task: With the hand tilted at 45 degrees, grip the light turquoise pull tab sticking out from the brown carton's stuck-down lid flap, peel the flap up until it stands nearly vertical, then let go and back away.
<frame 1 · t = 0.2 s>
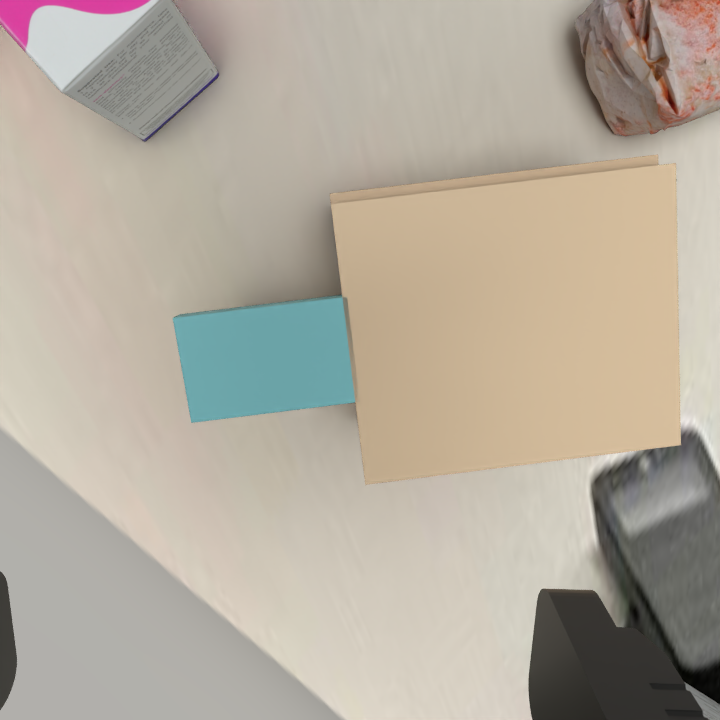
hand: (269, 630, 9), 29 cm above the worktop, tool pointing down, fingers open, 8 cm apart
carton: (461, 302, 38), on the worktop
food item: (685, 43, 36), on the worktop
flap: (429, 338, 27), point 11 cm above the worktop, hinge at 0.0°
supplement box: (149, 66, 35), on the worktop
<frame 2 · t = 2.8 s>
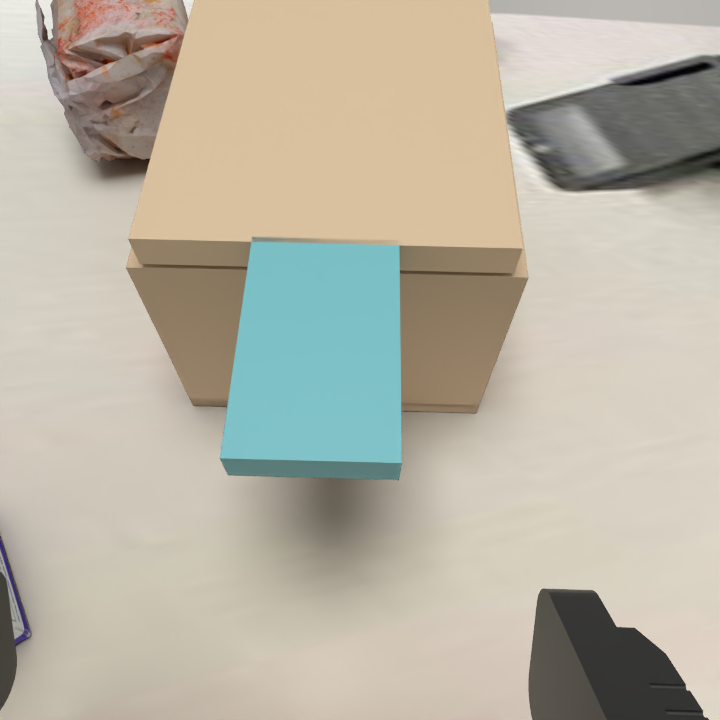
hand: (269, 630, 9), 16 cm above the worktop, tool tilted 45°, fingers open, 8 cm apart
carton: (340, 287, 33), on the worktop
food item: (146, 106, 40), on the worktop
flap: (331, 176, 21), point 11 cm above the worktop, hinge at 0.0°
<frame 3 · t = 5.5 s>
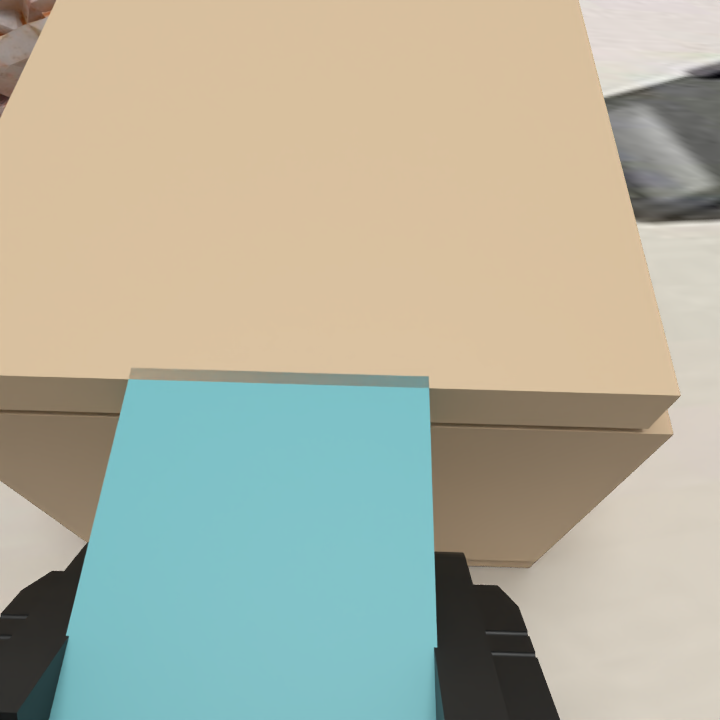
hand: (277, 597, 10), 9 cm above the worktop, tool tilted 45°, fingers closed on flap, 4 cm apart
carton: (328, 363, 23), on the worktop
food item: (78, 103, 30), on the worktop
flap: (299, 233, 12), point 11 cm above the worktop, hinge at 0.0°, touching gripper
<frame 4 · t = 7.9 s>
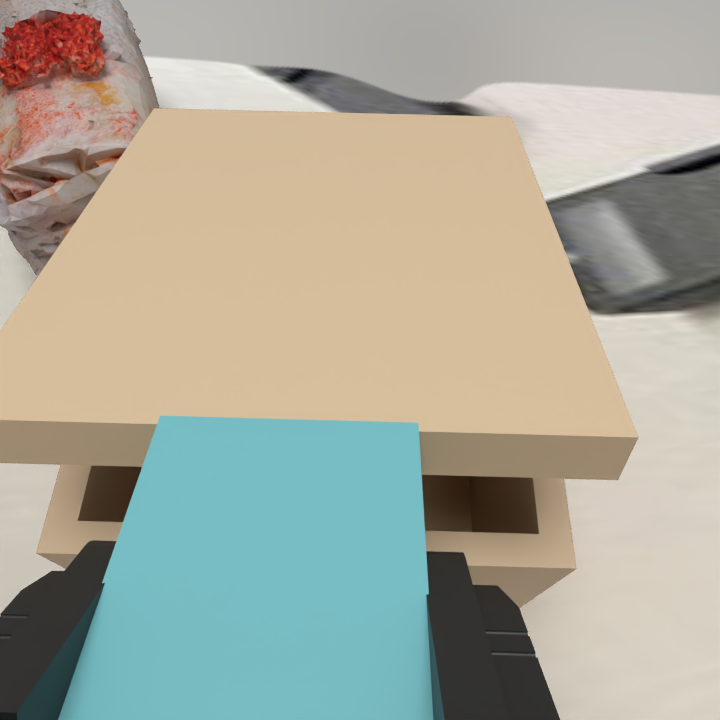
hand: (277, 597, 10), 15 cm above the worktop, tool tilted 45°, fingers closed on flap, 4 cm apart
carton: (332, 446, 27), on the worktop
food item: (113, 199, 35), on the worktop
flap: (306, 325, 14), point 14 cm above the worktop, hinge at 17.6°, touching gripper
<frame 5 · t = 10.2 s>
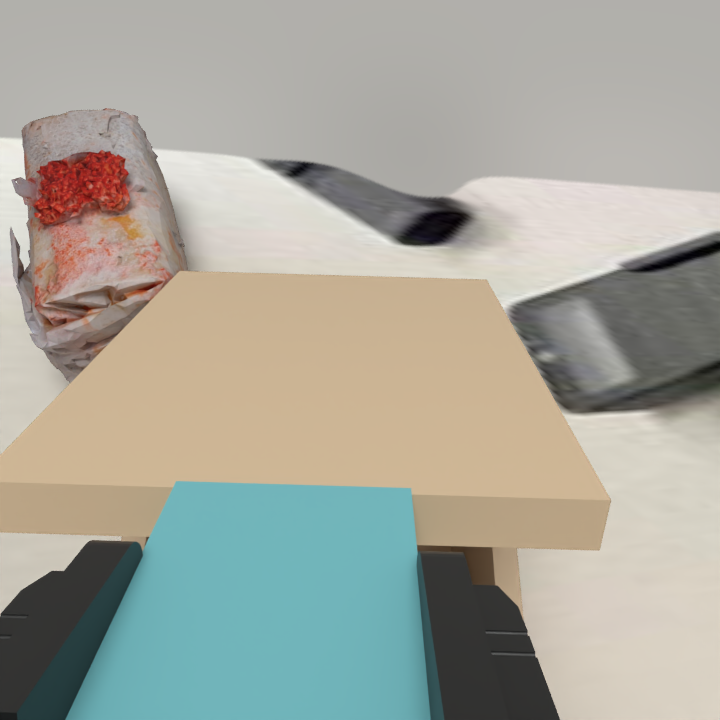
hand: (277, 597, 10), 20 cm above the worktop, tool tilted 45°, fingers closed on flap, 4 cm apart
carton: (331, 542, 31), on the worktop
food item: (131, 294, 38), on the worktop
flap: (309, 424, 15), point 17 cm above the worktop, hinge at 36.3°, touching gripper
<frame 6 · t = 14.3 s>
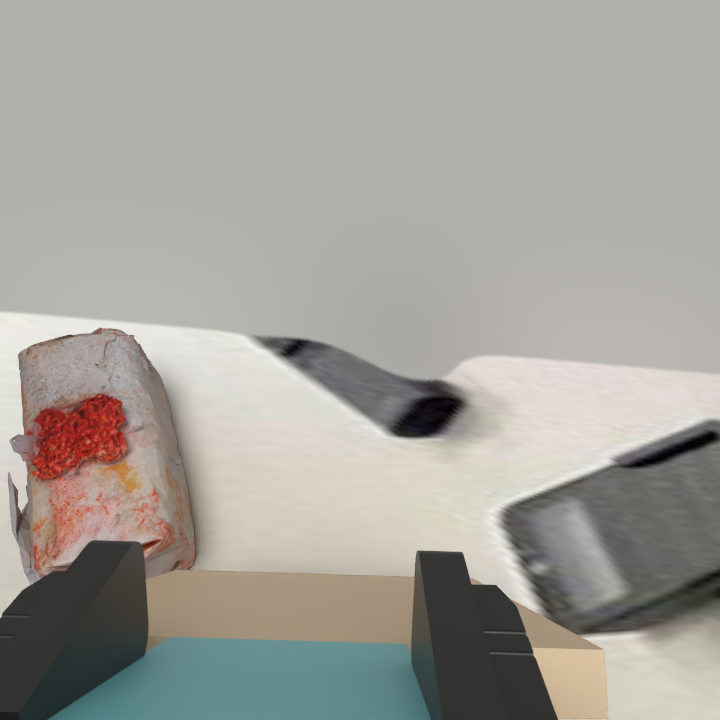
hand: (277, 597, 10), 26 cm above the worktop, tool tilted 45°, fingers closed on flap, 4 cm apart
food item: (129, 492, 38), on the worktop
flap: (302, 639, 15), point 20 cm above the worktop, hinge at 74.4°, touching gripper
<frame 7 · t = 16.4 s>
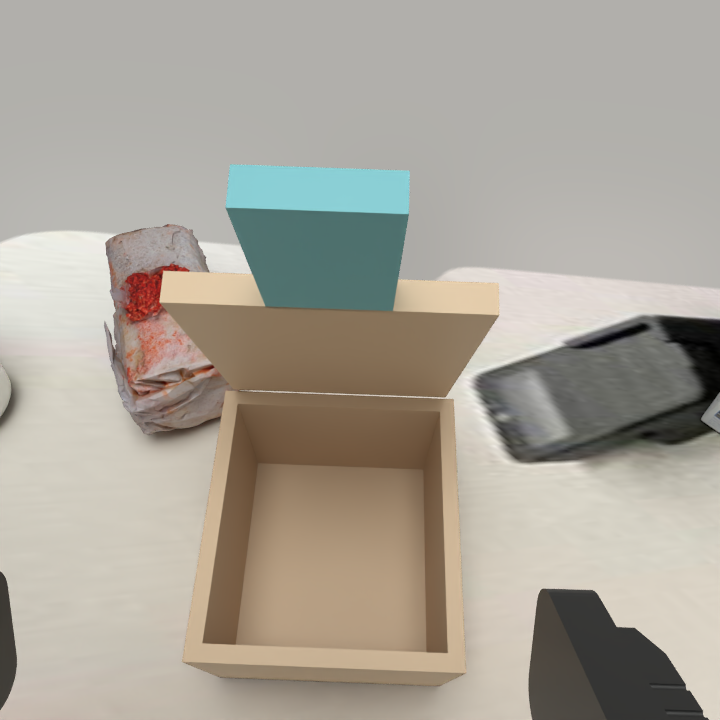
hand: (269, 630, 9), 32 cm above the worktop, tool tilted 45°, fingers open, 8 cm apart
carton: (336, 561, 41), on the worktop
food item: (184, 360, 49), on the worktop
flap: (333, 324, 26), point 20 cm above the worktop, hinge at 74.9°
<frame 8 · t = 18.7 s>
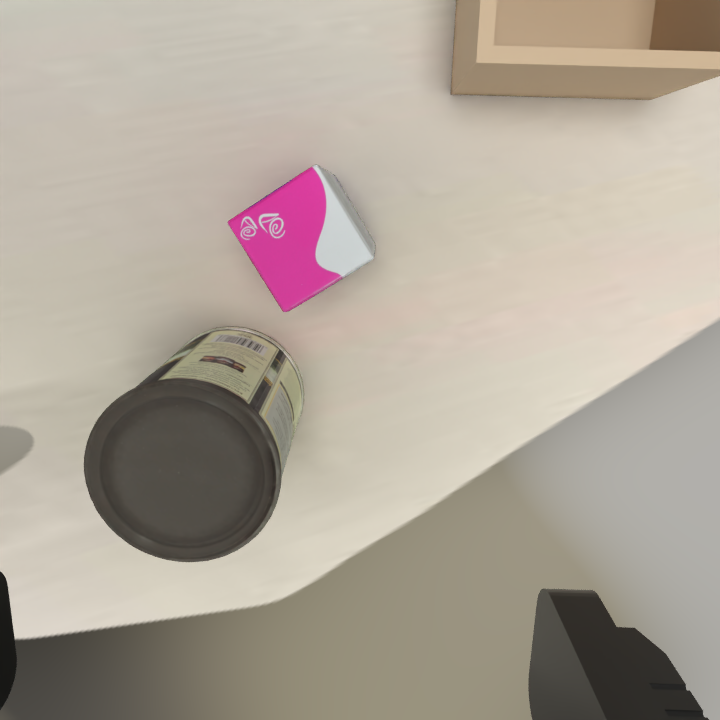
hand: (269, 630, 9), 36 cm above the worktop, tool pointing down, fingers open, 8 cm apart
coffee can: (236, 393, 47), on the worktop
supplement box: (319, 230, 44), on the worktop
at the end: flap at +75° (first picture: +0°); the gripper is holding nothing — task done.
